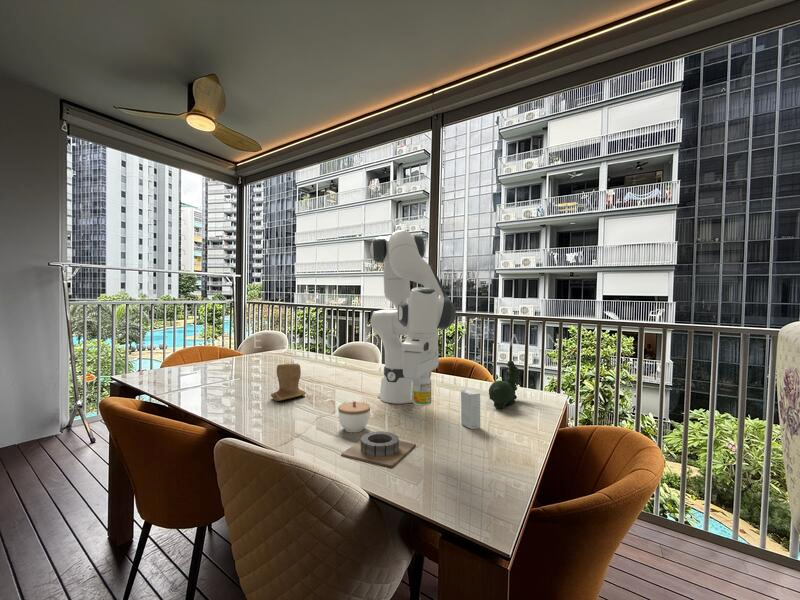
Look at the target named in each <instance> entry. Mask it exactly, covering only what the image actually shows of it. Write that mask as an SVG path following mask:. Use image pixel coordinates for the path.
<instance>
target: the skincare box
mask: <svg viewBox="0 0 800 600" xmlns="http://www.w3.org/2000/svg"><path fill="white" fill-rule="evenodd" d="M460 412H461V413H460V414H461V415H460V417H461V421H460V422H461V425H462V426H464V427H466V428H468V429H470V430H477V429H481V393H479V392H477V391H474V390H472V389H466V390H461V391H460Z"/></svg>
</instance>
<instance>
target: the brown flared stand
mask: <svg viewBox="0 0 800 600" xmlns="http://www.w3.org/2000/svg"><path fill="white" fill-rule="evenodd" d="M301 372H302V370H301V365H300V364H299V363H280V364H278V365H277V366H276V377H277V382H278V386H279V387H278V390H277V391H275V392H273V393H271V394H270V396H271V398H272V399H273V401H275V402H279V401H285V400H286V401H287V400H289V399H293V398H296V397H300V396H304V395H306V394H307V392H306V391H305V390H302V389H300V388H299V383H300V380H301V374H302V373H301Z"/></svg>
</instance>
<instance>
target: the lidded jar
mask: <svg viewBox="0 0 800 600" xmlns="http://www.w3.org/2000/svg"><path fill="white" fill-rule="evenodd" d="M337 409H338V411H337V412H338V420H339V424H340V426H341V427H342V428H343V429H344V431H345V432H347V433H352V432H353V433H354V432H355V433H359V432H362V431H363V430H364V428H366V426H367V425H368V424H369V420H370V416H371V415H370V413H371V405H370V404H368V403H365V402H360V401H354V400H353V401H349V402H344V403H341V404H339V405H338V407H337Z"/></svg>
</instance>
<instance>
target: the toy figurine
mask: <svg viewBox="0 0 800 600" xmlns="http://www.w3.org/2000/svg"><path fill="white" fill-rule="evenodd" d="M506 363H507V367H508V371H507V378H506V381H504V380H497V381H494V382H493V383H491V385H490V386H489V388H488V396H489V400H491V401H492V402H493V407H494V408H495V409H497V410H503V409H504V408H505V405H506V404H507V406H512V405H515V403H516V400H517V397H518V396H517V394H516V391H518V387H517V383H519V380H518V379H517V377H518V376H519V372H517V371H518V367H517V366H516V365H515V362H514V361H513V360H508V361H507V362H506Z"/></svg>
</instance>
